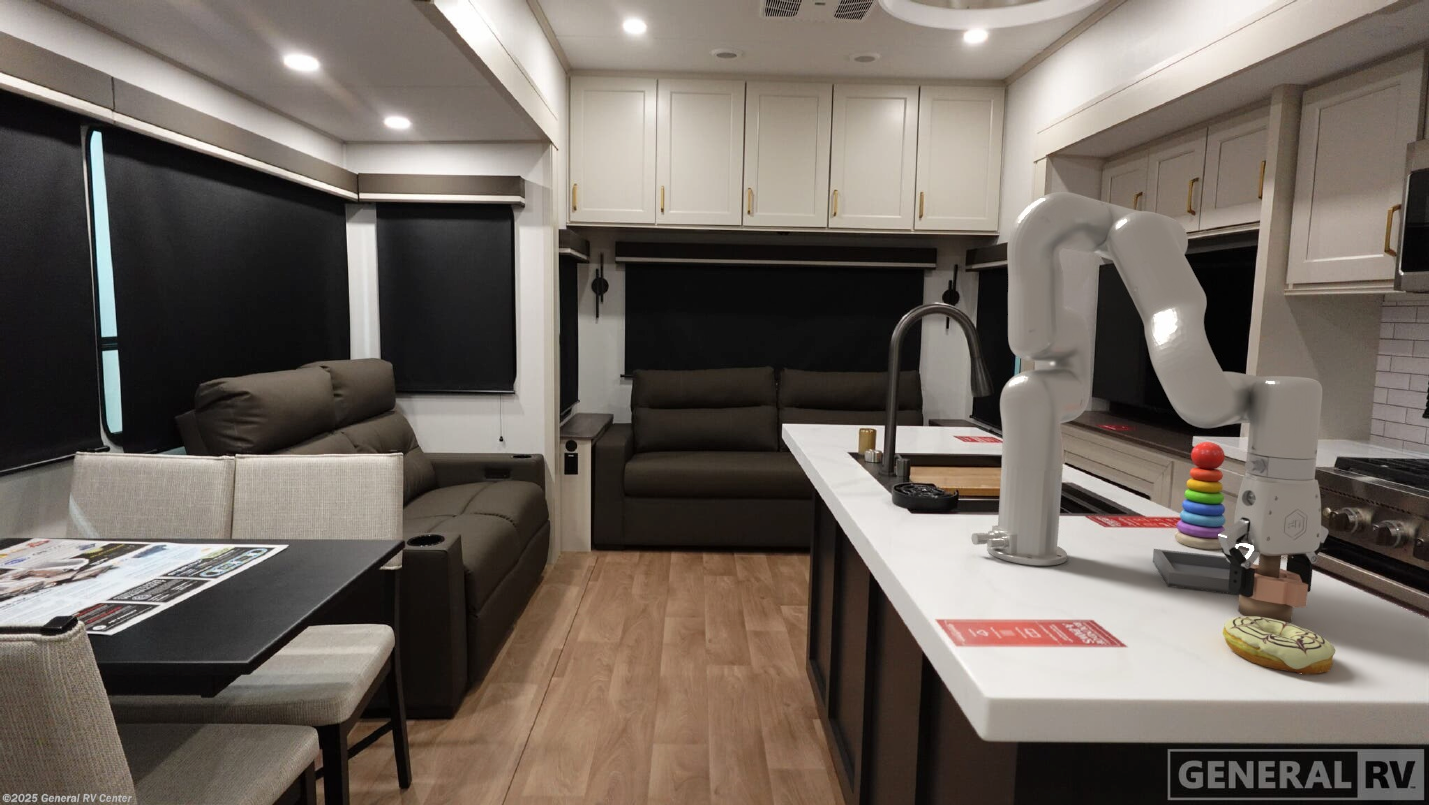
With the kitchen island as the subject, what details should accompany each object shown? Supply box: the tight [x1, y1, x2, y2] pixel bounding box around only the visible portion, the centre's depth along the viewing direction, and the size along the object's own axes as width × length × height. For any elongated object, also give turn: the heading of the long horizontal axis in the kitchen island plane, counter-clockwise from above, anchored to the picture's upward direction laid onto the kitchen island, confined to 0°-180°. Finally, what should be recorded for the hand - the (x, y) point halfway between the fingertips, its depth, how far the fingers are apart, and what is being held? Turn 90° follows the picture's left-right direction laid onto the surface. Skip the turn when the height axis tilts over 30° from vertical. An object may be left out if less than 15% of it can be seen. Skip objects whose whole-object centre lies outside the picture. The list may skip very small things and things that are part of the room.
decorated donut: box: [1222, 615, 1336, 675], centre depth 92 cm, size 10×11×4 cm
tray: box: [1152, 548, 1239, 596], centre depth 120 cm, size 13×13×2 cm
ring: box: [1250, 563, 1308, 608], centre depth 104 cm, size 7×8×3 cm
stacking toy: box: [1174, 441, 1227, 550], centre depth 138 cm, size 8×8×19 cm
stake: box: [1237, 554, 1294, 624], centre depth 105 cm, size 6×6×10 cm
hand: (1269, 591), depth 105 cm, fingers open, 9 cm apart
